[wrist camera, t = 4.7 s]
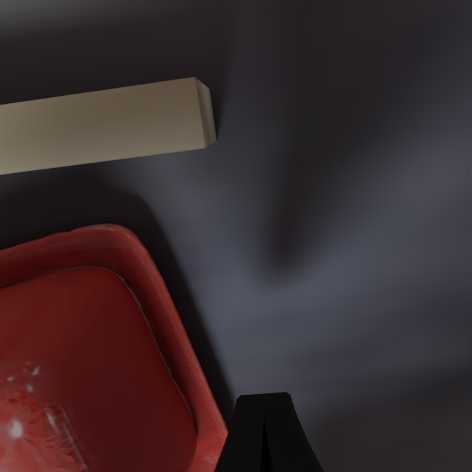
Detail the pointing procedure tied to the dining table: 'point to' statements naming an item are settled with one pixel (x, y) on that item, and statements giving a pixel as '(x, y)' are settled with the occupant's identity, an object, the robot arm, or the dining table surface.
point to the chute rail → (106, 125)
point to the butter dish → (98, 362)
